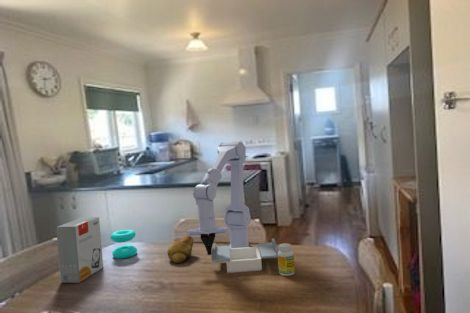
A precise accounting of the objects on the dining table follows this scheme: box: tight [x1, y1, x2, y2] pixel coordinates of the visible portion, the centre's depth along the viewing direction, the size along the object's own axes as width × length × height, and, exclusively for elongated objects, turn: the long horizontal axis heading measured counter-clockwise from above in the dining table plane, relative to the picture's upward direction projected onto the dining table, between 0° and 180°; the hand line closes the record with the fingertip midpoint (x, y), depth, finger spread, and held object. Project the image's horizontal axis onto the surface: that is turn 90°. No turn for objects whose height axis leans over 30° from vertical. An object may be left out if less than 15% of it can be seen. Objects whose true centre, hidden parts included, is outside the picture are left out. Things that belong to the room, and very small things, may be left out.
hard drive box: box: [55, 216, 104, 284], centre depth 136 cm, size 16×8×20 cm, turn 168°
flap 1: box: [210, 242, 230, 263], centre depth 135 cm, size 15×6×2 cm, turn 1°
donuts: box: [110, 229, 138, 260], centre depth 155 cm, size 10×10×10 cm
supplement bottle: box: [277, 242, 296, 277], centre depth 124 cm, size 5×5×10 cm
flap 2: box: [257, 238, 280, 259], centre depth 135 cm, size 15×6×2 cm, turn 1°
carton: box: [225, 245, 263, 274], centre depth 135 cm, size 14×12×4 cm
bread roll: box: [167, 235, 194, 264], centre depth 146 cm, size 13×10×8 cm
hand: (209, 254), depth 135 cm, fingers closed
